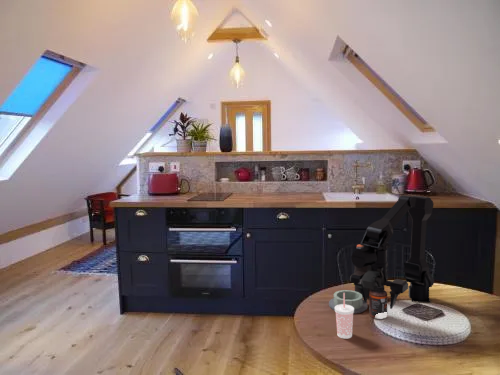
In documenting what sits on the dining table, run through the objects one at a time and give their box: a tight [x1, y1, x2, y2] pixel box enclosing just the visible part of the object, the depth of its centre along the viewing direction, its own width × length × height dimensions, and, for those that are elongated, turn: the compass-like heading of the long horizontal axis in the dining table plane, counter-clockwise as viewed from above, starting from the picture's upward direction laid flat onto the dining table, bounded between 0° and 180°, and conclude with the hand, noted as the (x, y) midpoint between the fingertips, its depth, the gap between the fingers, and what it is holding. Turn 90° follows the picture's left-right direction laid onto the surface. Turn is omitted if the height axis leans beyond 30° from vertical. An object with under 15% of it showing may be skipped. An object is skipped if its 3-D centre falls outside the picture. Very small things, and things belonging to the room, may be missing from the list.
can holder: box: [328, 289, 368, 315], centre depth 148 cm, size 14×14×4 cm
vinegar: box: [354, 244, 372, 298], centre depth 157 cm, size 7×7×20 cm
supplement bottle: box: [368, 285, 388, 319], centre depth 138 cm, size 6×6×11 cm
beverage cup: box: [334, 293, 354, 339], centre depth 125 cm, size 6×6×14 cm
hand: (378, 305), depth 138 cm, fingers open, 9 cm apart
